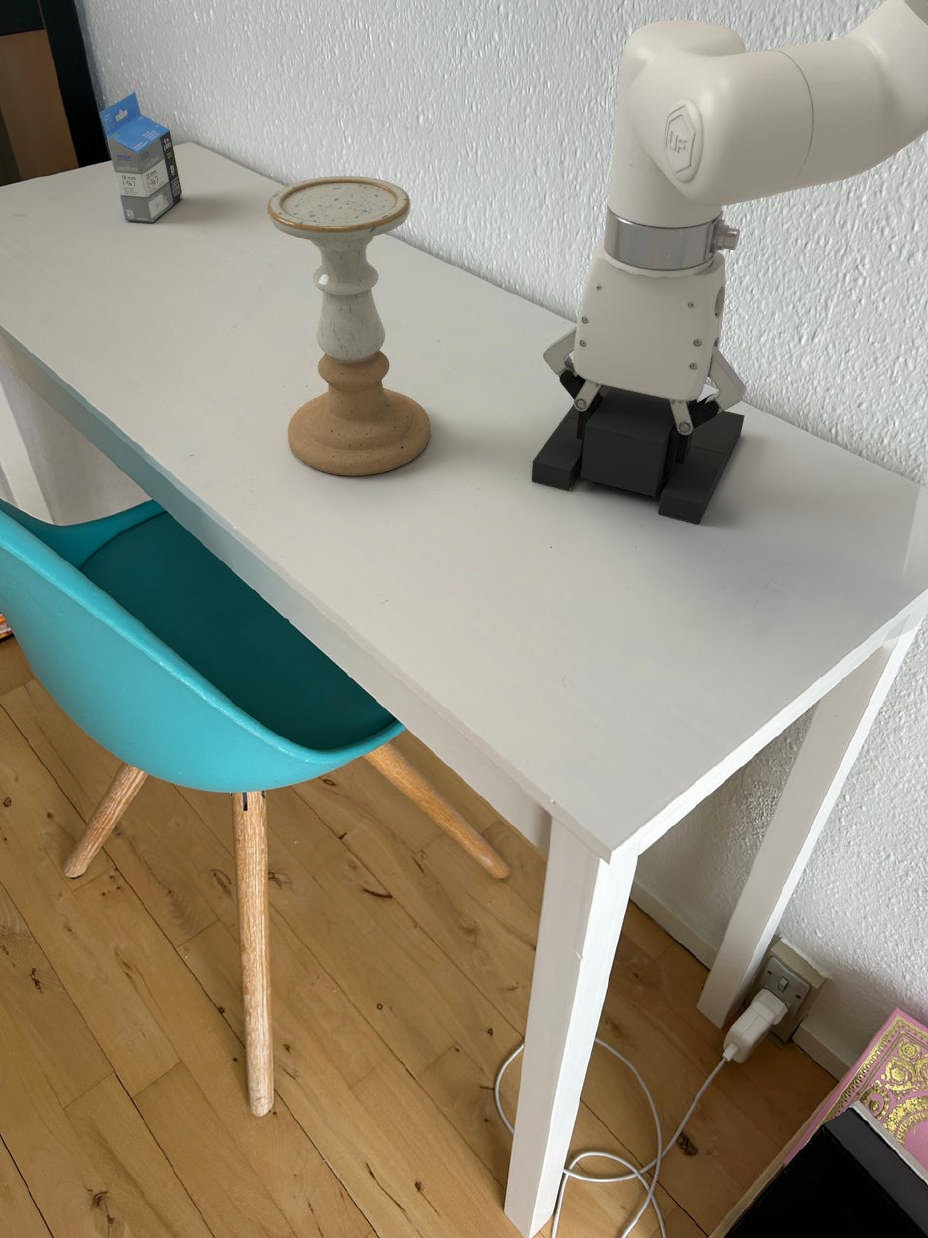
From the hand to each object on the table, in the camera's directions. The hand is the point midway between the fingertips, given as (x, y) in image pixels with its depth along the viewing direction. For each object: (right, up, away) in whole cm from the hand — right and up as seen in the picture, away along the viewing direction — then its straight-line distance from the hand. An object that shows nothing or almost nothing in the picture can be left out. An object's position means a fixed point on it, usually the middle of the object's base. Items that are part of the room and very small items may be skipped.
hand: (630, 455), depth 79 cm
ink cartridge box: (-52, +38, +44) cm, 79 cm away
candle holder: (-23, +3, +6) cm, 24 cm away
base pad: (+1, 0, +4) cm, 4 cm away
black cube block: (0, -1, +1) cm, 1 cm away
